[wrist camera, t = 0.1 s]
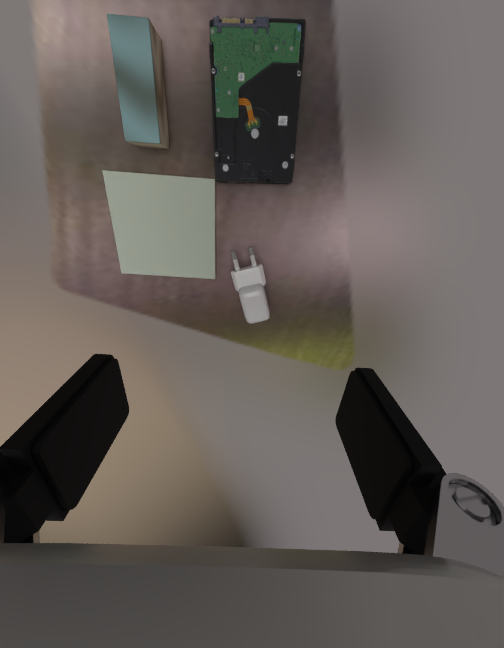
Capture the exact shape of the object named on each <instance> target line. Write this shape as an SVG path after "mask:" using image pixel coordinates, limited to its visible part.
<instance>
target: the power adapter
mask: <svg viewBox="0 0 504 648" xmlns="http://www.w3.org/2000/svg"><path fill="white" fill-rule="evenodd" d="M248 251H249V255H250V258H251V263H252V265H251V266H247V267H243V268H240V267H239V264H238V261H237V256H236V252H235V251H231V256H232V259H233V262H234V266H235V270H233V271H231V276H232V279H233V283H234V286H235V289H236V290H237V291H238V292H239V297H240V301H241V304H242V308H243V312H244V315H245V318H246V320H247V322H248V323H256V322H260V321H265V320H268V319H269V317H270V313H269V306H268V301H267V297H266V292H265V288H264V286H265V284H266V279H265V275H264V270H263V266H262V264H256V260H255V256H254V251H253V247H252V246H249V247H248Z"/></svg>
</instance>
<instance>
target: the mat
mask: <svg viewBox="0 0 504 648" xmlns="http://www.w3.org/2000/svg"><path fill="white" fill-rule="evenodd" d="M102 171H103V177H104V182H105V187H106V193H107V198H108V203H109V209H110V214H111V219H112V225H113V230H114V235H115V241H116V246H117V251H118V257H119V262H120V267H121V273H128V274H143V275H159V276H174V277H190V278H205V279H215V278H216V251H215V179H206V178H193V177H180V176H167V175H155V174H142V173H129V172H117V171H104V170H102Z"/></svg>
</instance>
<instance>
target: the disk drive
mask: <svg viewBox="0 0 504 648" xmlns="http://www.w3.org/2000/svg"><path fill="white" fill-rule="evenodd" d="M305 26H306V21H305V19H287V18H285V19H284V18H270V19H269V18H268V17H256V20H253V18H244V19H243V20H241V18H222V19H219V16H217V17H213V19H212V20H210V61H211V82H212V108H213V133H214V165H215V176H216V181H218V182H237V183H271V184H290V183H292V177H293V171H294V155H295V144H296V132H297V121H298V109H299V96H300V85H301V74H302V64H303V55H304V38H305Z"/></svg>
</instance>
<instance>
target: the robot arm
mask: <svg viewBox="0 0 504 648" xmlns="http://www.w3.org/2000/svg"><path fill="white" fill-rule="evenodd" d="M128 414H129V405H128V401H127V397H126V393H125V388H124V384H123V380H122V376H121V371H120V367H119V363H118V360H117V359H114V357H113V356H112V355H107V354H94V355H93V356H92V357H91V358H90V359H89V360H88V361H87V362H86V363H85V364H84V365H83V366H82V367H81V368H80V369H79V370H78V371H77V372H76V373H75V374H74V375H73V376H72V377H71V378H70V379H69V380H68V381H67V382H66V383H65V384H63V386H61V387H60V389H59V390H57V391H56V392H55V393H54V395H52V396H51V398H49V399H48V400H47V401H46V402H45V403H44V404H43V405H42V406H41V407H40V408H39V409H38V410H37V411H36V412H35V413H34V414H33V415H32V416H31V417H30V418H29V419H28V420H27V421H26V422H25V423H24V424H23V425H22V426H21V427H20V428H19V429H18V430H17V431H16V432H15V433H14V434H13V435H12V436H11V437H10V438H9V439H8V440H7V441H6V442H5V443H4V444H3V445H2V446H1V447H0V648H504V507H503V505H502V504H501V502H500V501H499V500H498V499H497V498H496V497H495V496H494V495H493V494H492V493H491V492H490V491H489V490H488V489H486V488H485V487H484V486H483V485H481V484H480V483H478V482H476V481H475V480H473V479H471V478H469V477H467V476H465V475H461V474H457V473H450V474H446V473H445V471H444V470H443V468H442V465H441V464H440V463H439V461H438V460H437V458H436V457H435V456H434V454H433V453H432V451H431V450H430V448H429V447H428V446H427V444H426V443H425V441H424V440H423V439H422V437H421V436H420V434H419V433H418V432H417V430H416V429H415V428H414V426H413V425H412V423H411V422H410V420H409V419H408V418H407V417H406V415H405V413H404V412H403V411H402V409H401V408H400V406H399V405H398V404H397V402H396V401H395V399H394V398H393V397H392V395H391V394H390V393H389V391H388V390H387V388H386V387H385V386H384V384H383V383H382V381H381V380H380V378H379V377H378V376H377V374H376V373H375V372H374V370H373V369H371V368H356V369H355V371H351V373H350V375H349V378H348V381H347V384H346V388H345V391H344V394H343V397H342V400H341V403H340V406H339V410H338V412H337V415H336V426H337V429H338V432H339V434H340V437H341V440H342V442H343V445H344V448H345V450H346V453H347V456H348V458H349V461H350V464H351V467H352V469H353V472H354V475H355V477H356V480H357V483H358V485H359V488H360V491H361V493H362V496H363V499H364V501H365V504H366V507H367V509H368V512H369V514H370V516H371V517H372V518H373V519H376V522H377V524H378V527H379V530H380V531H395V533H396V535H397V537H398V540H399V541H400V543H399V548H398V552H397V553H382V552H362V551H334V550H306V549H305V550H304V549H276V548H241V547H204V546H167V545H122V544H121V545H120V544H77V543H76V544H75V543H74V544H73V543H40V536H39V530H40V528H41V526H42V525H43V524H44V522H45V520H47V521H64V519H65V517H66V515H67V514H68V512H69V511H70V510H71V509H73V508H75V507H76V506H77V504H78V503H79V501H80V499H81V497H82V496H83V494H84V492H85V490H86V489H87V487H88V485H89V483H90V482H91V480H92V478H93V476H94V475H95V473H96V471H97V469H98V468H99V466H100V464H101V462H102V461H103V459H104V457H105V455H106V454H107V452H108V450H109V448H110V447H111V444H112V443H113V441H114V439H115V438H116V436H117V434H118V432H119V431H120V429H121V427H122V425H123V424H124V422H125V420H126V418H127V416H128Z"/></svg>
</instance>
